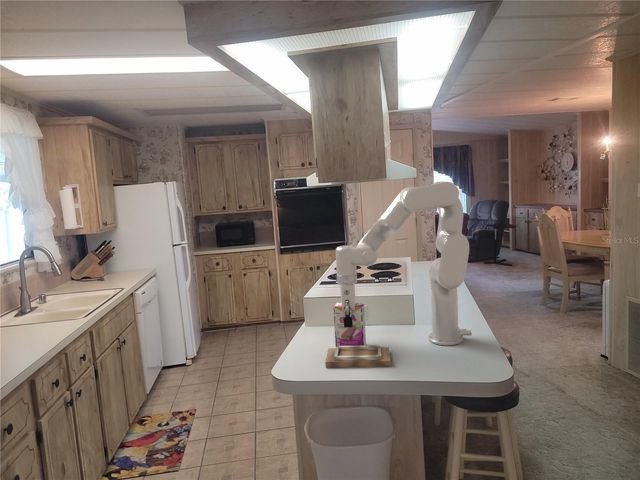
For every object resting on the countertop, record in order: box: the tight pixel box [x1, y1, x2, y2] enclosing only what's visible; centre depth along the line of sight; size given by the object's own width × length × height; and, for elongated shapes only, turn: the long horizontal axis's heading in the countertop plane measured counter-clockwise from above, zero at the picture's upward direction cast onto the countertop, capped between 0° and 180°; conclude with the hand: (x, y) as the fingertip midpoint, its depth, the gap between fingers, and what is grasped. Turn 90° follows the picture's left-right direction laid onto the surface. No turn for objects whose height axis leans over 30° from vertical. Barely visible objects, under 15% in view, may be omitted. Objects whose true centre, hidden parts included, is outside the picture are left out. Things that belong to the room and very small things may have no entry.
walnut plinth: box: [324, 344, 392, 369], centre depth 152 cm, size 22×12×3 cm, turn 84°
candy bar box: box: [333, 302, 367, 348], centre depth 164 cm, size 11×5×16 cm, turn 74°
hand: (348, 322), depth 164 cm, fingers open, 9 cm apart
